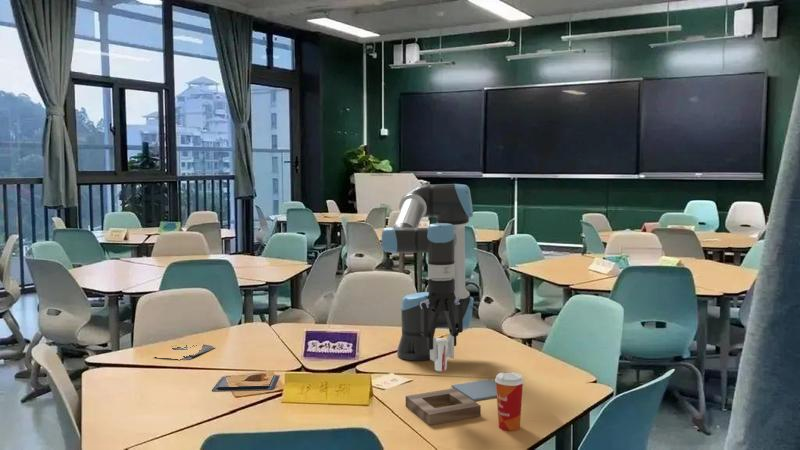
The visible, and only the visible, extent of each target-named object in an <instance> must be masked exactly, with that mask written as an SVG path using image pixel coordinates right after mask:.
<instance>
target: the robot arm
mask: <svg viewBox="0 0 800 450" xmlns="http://www.w3.org/2000/svg"><path fill="white" fill-rule="evenodd" d="M399 202H400V203H399V206H398V208H399V212H398V215H397V217H396V219H395V221H394V222H395V223H394V225H393V226H390V227H385V228H383V229H382V231H381V248H382V251H383V252H385V253H394V254H399V253H401V254H403V253H404V254H405V253H408V254H409V253H419V254H420V253H421V254H422V253H423V254H427V258H428V259H427V277H428V278H429V279H428V280H427V290H428V291H424V292H422V291H421V292H414V293H410V294H407V295H405V296H403V298H402V299H401V306H400V307H401V308H400V311H401V337H400V340H399V344H398V346H397V351H396V353H397V354H396V355H397V357H398V358H399V359H401V360H402V359H403V360H405V361H411V362H412V361H417V362H419V361H420V362H421V361H422V362H423V361H429V360H430V361H432V362H434V361H436V338H437V337H435V332H436V329H445V330H446V329H447V330H449V331H448V332H449V333H447V335H446V337H447V338H446V339H447V340H448V341H449V340H450V341H449V346H448V356H447V358H449V359H451V360H453V359H455V347H456V346H457V337H458V336H459V334H461V333H462V332H464V330H465V329H468V328H470V327H471V323H472V317H473V308H474V300H475V299H474V297H472V296H471V295H470V294H471V293H470V291H469V290H467V289H466V242H465V241H466V239H465V238H466V232H465V231H466V230H465V229H466V228H465V226H467V225H468V223H470V218H473V216H474V209H473V201H472V195H471V190H470V187H469V186H468V185H467V184H461V183H442V184H441V183H439V184H429V183H428V184H422V185H419V186H417V187H414V188H412V189H411V190H409V191H407V192H406V193H405V194H404V195H403V196H402V198H401V200H400V201H399ZM423 218H435V220H436V223H430V224H429V225H428V226H427V227H419V226H420V223H421V220H422V219H423ZM451 336H452V337H451ZM450 338H451V339H450Z"/></svg>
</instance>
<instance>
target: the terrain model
mask: <svg viewBox="0 0 800 450" xmlns="http://www.w3.org/2000/svg"><path fill="white" fill-rule="evenodd" d="M193 346H194V345H193ZM193 346H192V347H193ZM196 346H197V345H196ZM213 346H214V345H209V344H208V345H207V344H203V346H202V349H201V350H199V352H198V353H196V354H195V355H194V354H193V355H189V356H186V357H185V356H183V357H184V358H182V359H180V360H179V361H181V360H183V361H191V360H193V359H195V358H198V357H200V356H202V355H204V354H206V353H209V352H210V351H213V350H216V347H215V346H214V347H215V348H214V347H213ZM194 347H195V346H194ZM184 348H186V349H184ZM184 348H181V347H177V348H172V349H173V350H188V349H187V348H188V347H187V345H186V347H184ZM190 348H191V347H190Z"/></svg>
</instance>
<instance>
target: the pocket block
mask: <svg viewBox="0 0 800 450" xmlns="http://www.w3.org/2000/svg"><path fill="white" fill-rule="evenodd" d="M447 404H448V405H447ZM441 405H445V406H441ZM446 405H447V406H446ZM435 406H436V407H435ZM437 406H440V407H437ZM481 406H482V405H480V404H479V403H477V402H476V401H473V400H471V399H470V398H468V397H467V396H465V395H464V394H462V393H460V392H459V391H457V390H456V389H454V388H452V387H451V388H446V389H442V390H440V389H439V390H433V391H429V392H422V393H421V392H420V393H418V394H417V393H416V394H410V395H406V396H405V407H406V408H407V409H409V410H410V411H411V412H412V413H414V414H415V415H416V416H417V417H418V418H420V419H421V420H422V421H424V422H425V423H426V424H427V425H428V426H433V425H439V424H443V423H450V422H455V421H462V420H466V419H471V418H477V417H481V416H482V415H481V414H482V413H481V411H482V410H481V408H482V407H481Z"/></svg>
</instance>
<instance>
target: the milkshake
mask: <svg viewBox="0 0 800 450" xmlns="http://www.w3.org/2000/svg"><path fill="white" fill-rule="evenodd" d="M451 337H452V336H451ZM435 338H436V361H433V362H434V370H435V371H437V372H446V371H447V368H448V346H449V341H450V340H449V341H448V340H447V338H444V337H435ZM450 339H451V338H450Z"/></svg>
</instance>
